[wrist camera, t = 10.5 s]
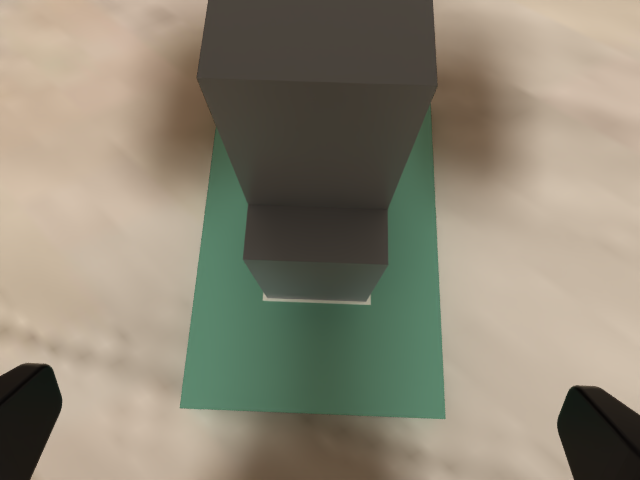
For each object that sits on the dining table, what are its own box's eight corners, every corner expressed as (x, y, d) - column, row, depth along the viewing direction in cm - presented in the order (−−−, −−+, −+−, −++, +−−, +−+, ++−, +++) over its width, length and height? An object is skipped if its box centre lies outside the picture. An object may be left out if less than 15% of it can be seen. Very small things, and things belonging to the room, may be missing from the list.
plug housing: (366, 301, 19) (442, 175, 7) (267, 298, 19) (183, 166, 7) (366, 168, 21) (427, -101, 9) (277, 164, 21) (224, -107, 9)
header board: (437, 416, 19) (474, 427, 14) (188, 406, 19) (147, 414, 15) (424, 104, 24) (449, 41, 19) (226, 98, 24) (204, 33, 20)
